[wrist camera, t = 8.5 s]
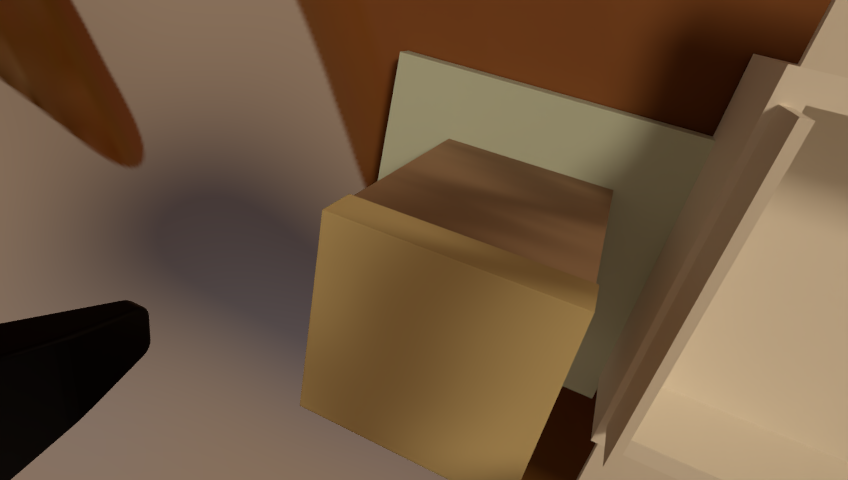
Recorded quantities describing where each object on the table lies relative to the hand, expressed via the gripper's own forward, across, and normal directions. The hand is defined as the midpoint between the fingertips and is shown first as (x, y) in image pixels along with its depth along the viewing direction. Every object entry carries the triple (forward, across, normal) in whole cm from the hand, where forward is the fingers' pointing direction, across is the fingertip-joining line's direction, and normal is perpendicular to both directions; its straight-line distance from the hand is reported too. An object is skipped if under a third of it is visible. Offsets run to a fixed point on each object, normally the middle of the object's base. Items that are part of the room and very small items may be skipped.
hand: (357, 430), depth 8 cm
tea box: (+9, 0, 0) cm, 9 cm away
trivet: (+10, 0, 0) cm, 10 cm away
